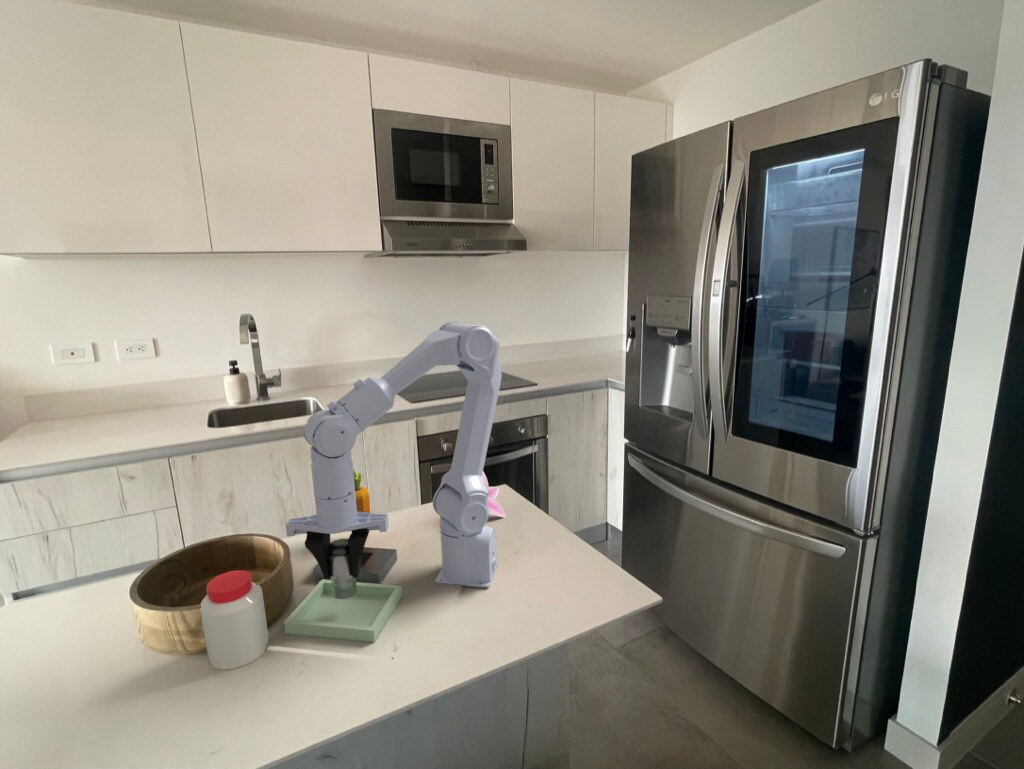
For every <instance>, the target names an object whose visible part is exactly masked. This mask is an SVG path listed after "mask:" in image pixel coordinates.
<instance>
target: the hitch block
mask: <svg viewBox="0 0 1024 769" xmlns="http://www.w3.org/2000/svg"><path fill="white" fill-rule="evenodd" d="M397 551H398V550H397V549H396V548H381V547H367V546H364V549H363V554H362V559H361V569H360V573H359V576H358V577H357V578H356V582H361V583H373V584H383V581H385V578H386V577H387V576H388V574H389V573H390V571H391V570H392V568H393V567H394V566H395V564H396V562H397V561H398V552H397ZM312 570H313V580H314V581H321V580H322V579H324V580H331V576H330V578H329V579H325V578H324V575H323V573H322V570H321V568H320V566H319V564H318V563H317V564H316V565H315V566H314V567H313V568H312Z"/></svg>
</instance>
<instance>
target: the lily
mask: <svg viewBox="0 0 1024 769" xmlns="http://www.w3.org/2000/svg"><path fill="white" fill-rule="evenodd" d="M482 478H483V481H484V483H485V486H486V488H487V491H488V498H487V506H488V510H489V515H494V516H497V517H500V518H507V514H506V512H505V510H504V508H503V506H502V505H501V503H500V502H499V501H498V500H497V499H496V497H497V496H498V494H499V492H500V487H498V486H489V482H488V478H487V476H486V474H485V472H484V471H483V473H482Z"/></svg>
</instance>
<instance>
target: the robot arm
mask: <svg viewBox="0 0 1024 769" xmlns="http://www.w3.org/2000/svg"><path fill="white" fill-rule="evenodd" d="M499 348H500V342H499V340H498V339H497V338H496V336H495V335H494V333H493V332H492V331H491V329H489V328H488V327H486V326H485V325H480V324H467V323H461V322H458V321H448V322H446V323H444V324H442V325H440V327H439V328H438V329H435V330H434V331H432V332H430V333H429V334H428V335H427V337H426V338H425V339H424V340H423V341H422V342H421V343H420V344H419V345H417V346H416V347H415V348H413V350H411V352H409V353H408V354H407V355H405V356H404V357H403V359H401V360H400V361H399V362H397V363H396V364H395V365H394V366H393V367H392V368H390V369H389V370H388V371H387V372H386V373H385V374H384V375H382V376H381V377H378V378H376V377H367V378H366V379H365V380H363V379H360V378H359V379H357V380H356V381H355V382H353V386H354V388H352V389H351V390H350V391H348V392H347V393H346V394H345V395H344V396H341V397H340V399H338V400H337V401H335V402H334V401H330V402H329V403H328V404H327V405H326V407H327V408H328V409H323V410H318V411H317V412H315V413H313V414H311V416H310V417H309V418H308V419H307V421H306V423H305V425H304V429H303V430H302V435H303V438H304V439H305V441H306V442H307V444H309V445H310V446H311V447H310V448H309V449H310V459H311V464H310V465H311V466H310V468H311V478H312V484H313V485H312V486H313V488H312V489H313V496H314V505H315V513H316V514H313V515H307V516H304V517H301V516H300V517H295V518H289V520H288V521H287V522H286V523H285V531H286V536H287V537H294V536H295V535H299V534H300V535H302V534H306V536H305V537H306V539H305V541H304V547H305V548H306V549H307V550H308V551H309V552H310V554H311V555H312V556H313V557H314V559H315V560H316V562H317V564H319V566H320V568H321V570H322V573H323V575H324V578H325V579H329V578H330V576H331V572H330V561H329V551H328V545H329V544H330V543H331V535H334V534H335V535H336V534H341V533H346V532H351V534H350V535H349V537H348V538H347V539H348V545H349V549H350V554H351V559H352V575H353V578H357V577H358V576H359V573H360V569H361V559H362V554H363V549H364V547H366V542H367V539H368V537H369V534H370V531H379V532H380V533H386V532H387V531H388V527H389V515H388V514H387V513H384V514H382V513H373V512H370V513H365V512H357V507H356V496H355V485H354V473H353V469H354V465H353V463H354V461H353V458H352V449H353V447H355V444H356V441H357V437H358V435H359V434H361V433H362V432H363V431H364V430H366V429H367V428H369V427H370V426H372V424H374V423H375V422H376V421H377V420H379V419H380V418H381V417H382V416H384V414H386V413H387V412H388V411H390V410H391V409H392V408H393V407H394V402H395V399H396V398H395V397H396V395H397V394H398V393H400V392H402V391H403V390H404V389H406V388H407V387H408V386H410V385H411V384H413V383H414V382H415V381H418V379H420V378H422V377H423V376H424V375H425V374H427V373H428V372H430V371H431V370H432V369H434V368H435V367H437V366H438V367H439V366H456V367H457V368H458V369H459V370H460V372H461V373H462V375H463V376H464V378H465V379H466V380H467V386H466V392H465V395H464V402H463V405H462V411H461V415H460V421H459V427H458V432H457V436H456V442H455V446H454V452H453V457H452V462H451V468H450V469H449V471H447V472H446V473H444V474H443V475H442V477H441V482H440V484H439V487H438V489H437V490H436V491H435V492H434V495H433V498H432V507H433V510H434V512H435V513H436V514H437V515H438V516H439V521H440V523H439V529H440V530H439V532H440V550H441V568H440V570H439V572H438V574H437V576H436V577H435V581H434V582H435V583H439V584H449V585H450V584H451V585H460V586H461V585H462V587H474V588H487V589H488V588H490V586H491V584H492V580H493V578H494V574H495V572H496V568H497V567H498V566H497V565H498V561H497V535H496V534H497V533H496V528H495V527H490V526H488V525H486V524H487V523H488V519H489V515H490V514H489V510H488V506H487V498H488V491H487V488H486V486H485V483H484V481H483V478H482V473H483V472H484V467H485V462H486V457H487V452H488V447H489V443H490V437H491V433H492V427H493V424H494V416H495V412H496V408H497V403H498V398H499V392H500V389H501V388H500V387H501V384H502V383H501V382H502V377H503V376H502V375H503V374H502V368H501V364H500V359H499V354H498V353H499Z"/></svg>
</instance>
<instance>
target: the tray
mask: <svg viewBox="0 0 1024 769" xmlns="http://www.w3.org/2000/svg"><path fill="white" fill-rule="evenodd" d="M356 584H357V592H356V593H355V594H354V595H353V596H351V597H349V598H346V599H337V598H334V597H333V593H332V582H331V580H324V579H322V580H319V581H318V583H317V585H315V586H314V587H313V589H312V590H311V591H310V593H308V595H307V596H306V597H305V598H304V599H303V600H302V601H301V602H300V604H298V606H296V608H295V609H294V610H293V611H292V612H291V613H290V614H289V615H288V617H287V618H286V619H285V620H284V622H283V626H284V634H285V635H291V636H292V635H295V636H303V637H314V638H324V639H325V638H326V639H333V640H334V639H335V640H343V641H345V640H346V641H353V642H354V641H355V642H361V643H362V642H363V643H365V642H366V643H374V644H375V643H376V642H377V640H378V638H379V637H380V635H381V633H382V632H383V629H384V628H385V626H386V625H387V623H388V621H389V620H390V618H391V616H392V615H393V613H394V611H395V610H396V608H397V606H398V605H399V603H400V601H401V600H402V598H403V586H402V585H395V584H384V583H381V584H373V583H361V582H356Z"/></svg>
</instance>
